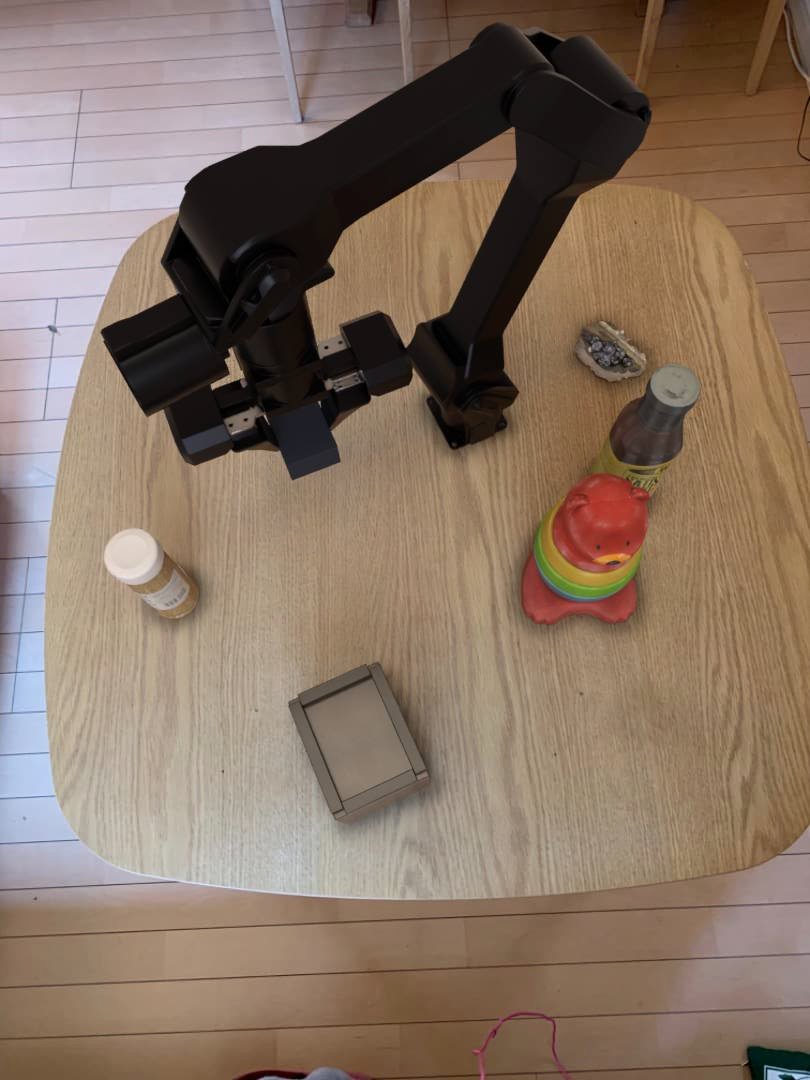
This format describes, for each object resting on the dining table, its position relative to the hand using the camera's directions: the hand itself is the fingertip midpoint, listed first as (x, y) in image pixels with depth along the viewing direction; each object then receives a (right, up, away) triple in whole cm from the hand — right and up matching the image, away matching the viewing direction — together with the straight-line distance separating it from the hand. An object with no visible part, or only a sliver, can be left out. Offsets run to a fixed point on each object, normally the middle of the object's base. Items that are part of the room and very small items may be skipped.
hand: (302, 436), depth 73 cm
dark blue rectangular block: (0, 0, +1) cm, 1 cm away
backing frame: (+5, -28, +4) cm, 29 cm away
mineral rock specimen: (+31, +11, +17) cm, 37 cm away
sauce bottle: (+30, -4, +12) cm, 33 cm away
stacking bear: (+25, -12, +9) cm, 29 cm away
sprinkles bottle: (-13, -15, +9) cm, 22 cm away
